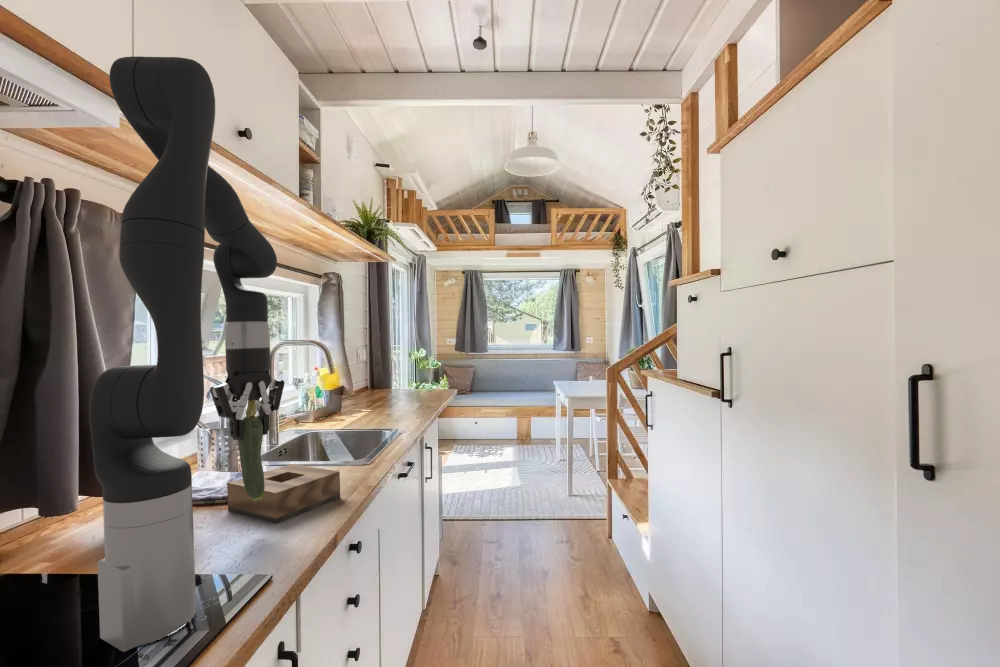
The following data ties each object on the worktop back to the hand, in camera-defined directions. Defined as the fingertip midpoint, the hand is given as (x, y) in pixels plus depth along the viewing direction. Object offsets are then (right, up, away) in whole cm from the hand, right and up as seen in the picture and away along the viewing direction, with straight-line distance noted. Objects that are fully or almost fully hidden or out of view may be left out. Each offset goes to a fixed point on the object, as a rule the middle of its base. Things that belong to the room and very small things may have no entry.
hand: (250, 436), depth 92 cm
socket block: (+1, -18, +14) cm, 23 cm away
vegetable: (0, -13, 0) cm, 13 cm away
